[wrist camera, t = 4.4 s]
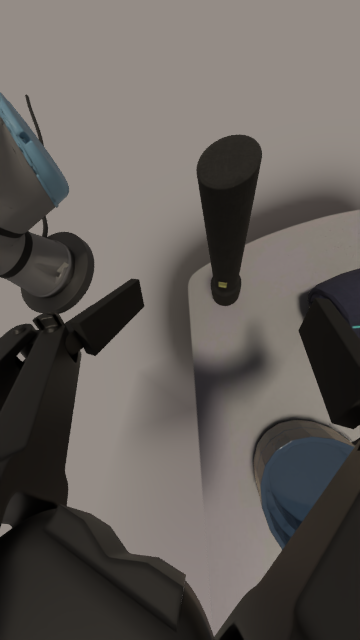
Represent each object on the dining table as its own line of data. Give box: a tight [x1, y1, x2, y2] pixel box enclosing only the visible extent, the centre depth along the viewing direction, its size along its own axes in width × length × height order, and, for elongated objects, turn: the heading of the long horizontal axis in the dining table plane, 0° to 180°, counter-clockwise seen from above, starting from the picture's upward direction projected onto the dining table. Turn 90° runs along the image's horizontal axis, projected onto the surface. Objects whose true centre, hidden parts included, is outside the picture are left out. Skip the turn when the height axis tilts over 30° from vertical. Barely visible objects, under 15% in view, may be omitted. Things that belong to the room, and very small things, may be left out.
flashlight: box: [197, 135, 262, 306], centre depth 21 cm, size 5×24×5 cm
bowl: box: [254, 420, 356, 550], centre depth 22 cm, size 15×15×6 cm
